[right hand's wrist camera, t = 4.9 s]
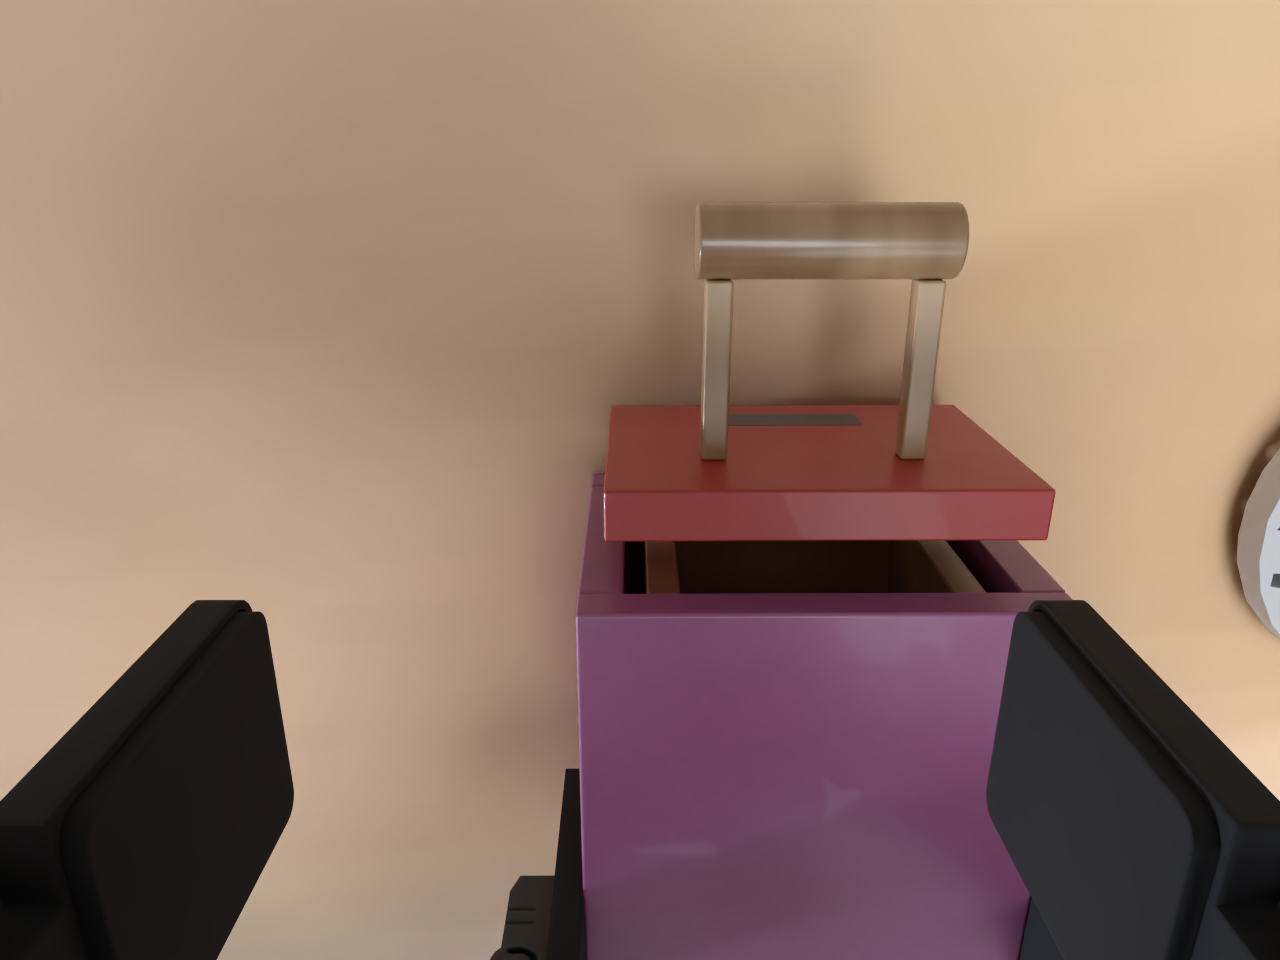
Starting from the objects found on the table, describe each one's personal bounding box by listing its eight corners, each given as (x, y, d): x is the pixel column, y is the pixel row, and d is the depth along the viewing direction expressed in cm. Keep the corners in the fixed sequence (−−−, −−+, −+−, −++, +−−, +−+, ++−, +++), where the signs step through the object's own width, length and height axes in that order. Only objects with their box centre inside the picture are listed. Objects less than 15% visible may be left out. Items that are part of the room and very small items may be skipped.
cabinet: (592, 473, 27) (574, 614, 19) (953, 472, 27) (1087, 613, 19) (599, 825, 32) (587, 1058, 24) (907, 823, 32) (1000, 1055, 24)
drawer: (608, 191, 23) (598, 210, 17) (980, 191, 23) (1105, 209, 17) (615, 755, 30) (610, 918, 23) (910, 754, 30) (983, 916, 23)
